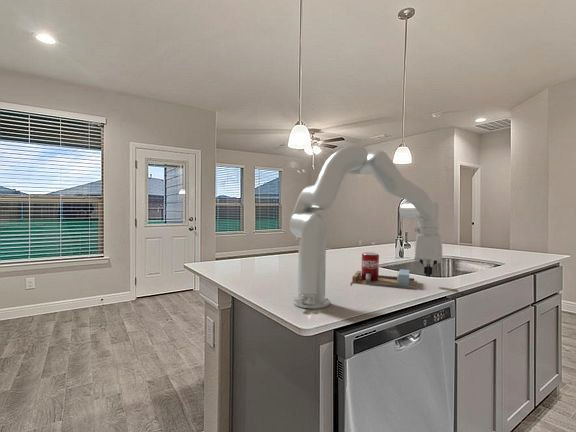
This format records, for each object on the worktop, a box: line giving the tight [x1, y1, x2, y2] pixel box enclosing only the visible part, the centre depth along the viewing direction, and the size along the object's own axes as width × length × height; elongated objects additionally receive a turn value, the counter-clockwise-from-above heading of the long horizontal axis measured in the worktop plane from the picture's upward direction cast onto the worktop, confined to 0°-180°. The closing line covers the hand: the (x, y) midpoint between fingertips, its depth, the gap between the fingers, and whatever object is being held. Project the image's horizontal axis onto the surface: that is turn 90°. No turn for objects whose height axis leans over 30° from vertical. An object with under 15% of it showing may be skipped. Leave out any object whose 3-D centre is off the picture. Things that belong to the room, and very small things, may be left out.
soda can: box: [361, 251, 380, 282], centre depth 139 cm, size 7×7×12 cm
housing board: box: [350, 270, 418, 291], centre depth 137 cm, size 16×26×5 cm, turn 68°
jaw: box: [396, 269, 410, 286], centre depth 134 cm, size 11×4×5 cm, turn 158°
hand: (428, 275), depth 131 cm, fingers closed
